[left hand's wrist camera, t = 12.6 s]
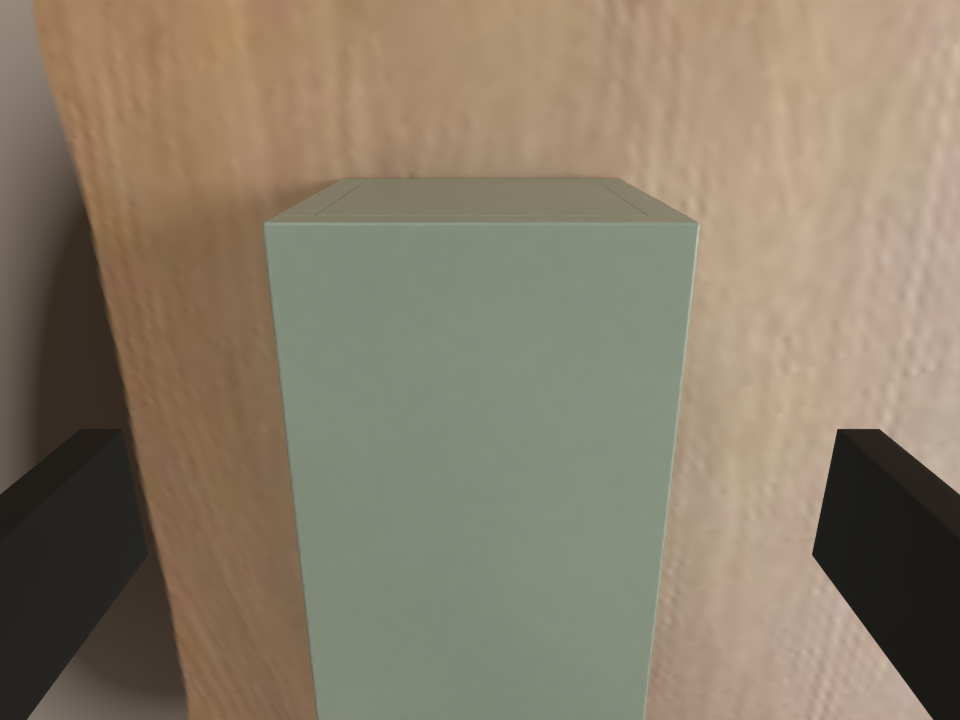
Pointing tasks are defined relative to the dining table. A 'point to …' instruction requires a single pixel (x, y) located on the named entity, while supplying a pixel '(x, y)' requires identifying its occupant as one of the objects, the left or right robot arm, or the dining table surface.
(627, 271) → the cabinet
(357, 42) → the dining table surface
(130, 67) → the dining table surface
